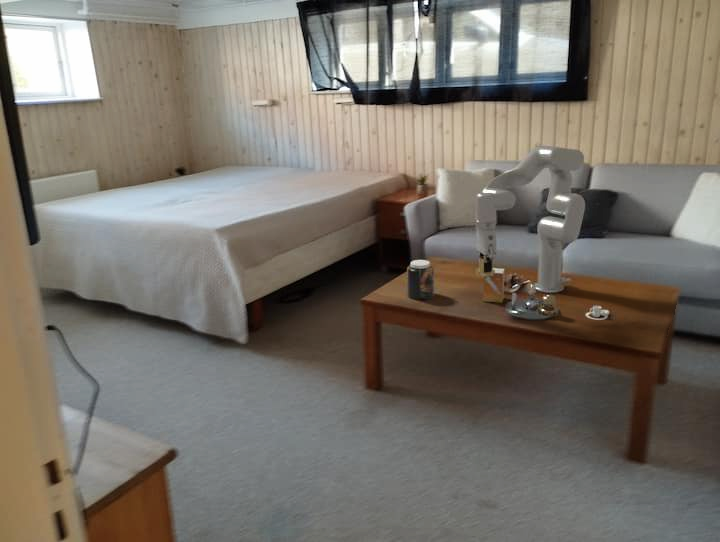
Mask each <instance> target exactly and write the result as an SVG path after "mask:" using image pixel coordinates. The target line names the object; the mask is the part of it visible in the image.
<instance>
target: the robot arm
mask: <svg viewBox="0 0 720 542" xmlns="http://www.w3.org/2000/svg"><path fill="white" fill-rule="evenodd" d="M584 164H585V155H584V154H583V152H582V151H581V150H579V149H575V148H574V149H573V148H565V147H559V146H551V145H537V146H535V147H533V148H532V149H531V150H530V151H529V152H528V153H527V154H526V155H525V157H524V158H523V159H522V160H521V161H520V162H519V163H518V164H517V165H516V166H515V167H514V168H512V169H509V170H507V171H505V172H503V173H501V174H499V175H497V176H495V177H494V178H492V180H490V181H489V182H488V184H487V185H486V186H485V187H484V188H483V190H482V191H481V192H478V193H477V194H476V196H475V230H476V232H475V249H476V250H477V257H478V258H477V259H478V262H477V265H478V266H477V268H479V257H482V256H484V259H485V262H484V272H491V271H492V268H493V259H494V258H495V255H496V254H497V235H496V224H497V223H496V222H497V221H496V216H497V215H496V213H497V212H496V211H506V210H509V209H512V208H513V207H514V205H515V204H516V201H517V199H516V198H517V197H516V195H515V194H514V193H513V192H512V191H511V190H509V189H512V188H517V187H521V186H522V187H523V186H525V185H528V184H530V183H531V182H533V180H534V179H536V178H537V176H538V175H539V174H540V173H541V172H542V171H543V170H544V169H548V171H549V173H550V179H551V180H550V184H549V185H550V186H549V191H548V195H547V200H546V210H547V211H548V212H549V213H552V214H555V215H559V216H564V217H565V218H562V217H557V216H556V217H555V216H544V217H542V218H540V220H539V221H538V223H537V235H538V261H537V262H538V263H537V282H535V283H533V284H534V285H535V290H536V291H538V292H543V293H549V294H551V293H560V292H562V291H563V290H564V289H565V286H564V284H569V283H571V282H572V279H571V278H568V277H567V278H566V277H561V276H562V260H563V245H562V243H563V244H573V243H575V242H576V241H577V239H578V238H579V235H580V232H581V227H582V222H583V218H584V214H585V210H586V202H585V199H584V197H583V196H582V195H580V194H578V193H572V188H573V183H574V182H573V181H574V180H573V175H572V172H577V171H578V170H580V169H581V168H582V167H583V165H584ZM487 256H488V258H487Z"/></svg>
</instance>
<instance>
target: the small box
mask: <svg viewBox="0 0 720 542" xmlns="http://www.w3.org/2000/svg"><path fill="white" fill-rule="evenodd" d="M492 268H493V270H495V274H493V276H486V277H484V276H482V278H483V279H482V281H483V283H482V302H487V303H488V302H489V303H500V304H501V303H503V301H504V295H505V294H504V293H505V290H504V289H505V270H506V269H505V268H496V267H492Z"/></svg>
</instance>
